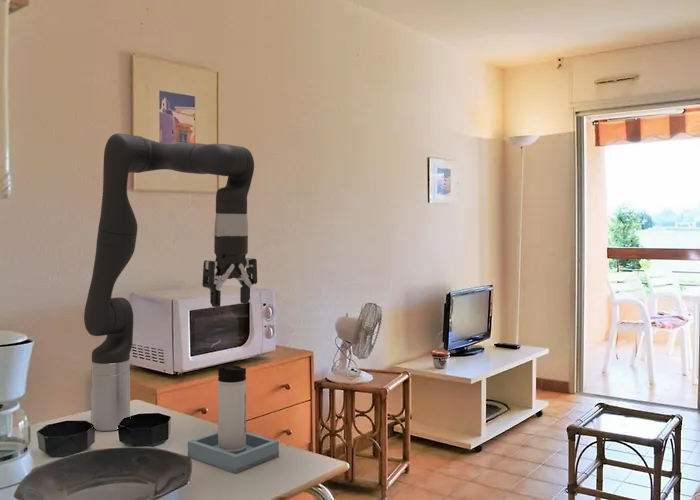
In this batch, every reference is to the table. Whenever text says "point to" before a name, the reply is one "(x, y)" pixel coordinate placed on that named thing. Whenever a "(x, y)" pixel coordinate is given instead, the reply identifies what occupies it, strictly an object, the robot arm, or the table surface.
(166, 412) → the table surface
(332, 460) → the table surface
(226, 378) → the travel mug
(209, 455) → the slate tray
